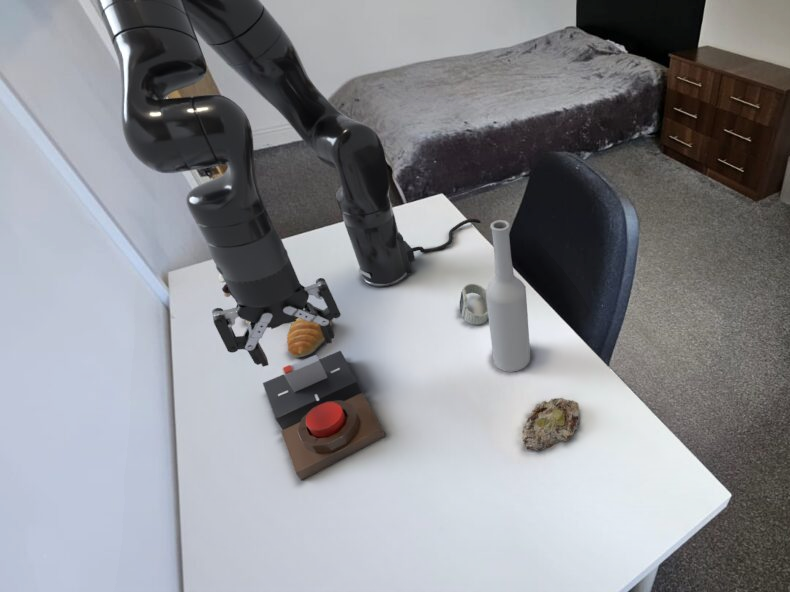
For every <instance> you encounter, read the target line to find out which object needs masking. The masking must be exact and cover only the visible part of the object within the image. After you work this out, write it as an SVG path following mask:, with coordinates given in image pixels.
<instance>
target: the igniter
mask: <svg viewBox="0 0 790 592" xmlns="http://www.w3.org/2000/svg"><path fill="white" fill-rule="evenodd" d="M327 402H334V403H337V404H339V405H340V406H341V408H342V410H343V412H344V414H345V416H346V422H345V424H344V426H343V427H342V429H341V430H340V431H338V432H337V433H336V434H334V435H332V436H329V437H324V438H319V437H316V436H314V435H313V434H312V433H311V431H310V430H309V428H308V426H307V425H306V417H307V415H308V413H309V412H310V411H311V410H312V409H313V408H312V409H311V410H310V411H309V412H308V413H307V414H306V415H305V416H304V417H303V418H302V419H301V422H299V423H297V424H295V425H293V426H290V427H288V428H286V429H284V430H282V429H281V431H280V433H281V436H282V439H283V442H284V444H285V447H286V450H287V453H288V456H289V459H290V462H291V464H292V467H293V470H294V474H295V475H296V476H297V478H298V479H299V480H300V481H303V480H305V479H307V478H308V477H311V476H312V475H314V474H316V473H318V472H320V471H322V470H324V469H326V468H328V467H330V466H331V465H333V464H335V463H337V462H339V461H340V460H343V459H344V458H347V457H348V456H350V455H352V454H354V453H357V452H358V451H360V450H362V449H364V448H366V447H367V446H369V445H371V444H373V443H376V441H379V440H381V439H382V438H384V437H386V434H385V432H384V429H383V427H382V426H381V424H380V422H379V420H378V418H377V416H376V414H375V412H374V410H373V408H372V407H371V405H370V403H369V401H368V400H367V397H366V395H365V394H364V392H362V393H360V394H358V395H356V396H354V397H352V398H350V399H348V400H346V401H342V400H338V401H327ZM327 402H325V403H327ZM314 408H315V407H314Z"/></svg>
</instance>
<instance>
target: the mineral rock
mask: <svg viewBox="0 0 790 592" xmlns="http://www.w3.org/2000/svg"><path fill="white" fill-rule="evenodd" d="M579 408H580V407H579V403H578V401H575V400H573V399H572V400H571V399H565V398H564V397H559V398H551V399H550V400H549V401H548V402H547V400H543V401H541V404H540V403H538V404H536V405H535V407H534V408H533V409H532V411H531V413H530V415H529V417H527V419H526V423H525V426H523V428H522V443H524V445H525V449H526V450H527V451H528V450H536V451H543V450H546V449H548V448H551V447H553V445H555V444H556V443H557V442H560V441H563V442H567V441H569V440H570V439H571V438H572V437H573V435H575V431H576V430H578V426H579V424H580V420H579V414H580V409H579Z"/></svg>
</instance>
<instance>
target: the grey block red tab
mask: <svg viewBox="0 0 790 592" xmlns="http://www.w3.org/2000/svg"><path fill="white" fill-rule="evenodd" d="M319 359H320V358H319V357H318V355H317V354H315V355H312V356H310V357H308V358H305V359H302V360H300V361H297V362H295V363H293V364H288V365H286V366H283V367H282V368H281V370H282V373H283V374H284V375H285V377H286V379H287V381H288V382H289V384H290V386H291V387H292V389H293V391H294V392H296V391H299V390H301V389H303V388H306V387H308V386H310V385H312V384H315V383H317V382H319V381H321V380H324V379H326V378H328V377H327V375H326V373H325V371H324V369H323V367H322V365H321V363H320V361H319Z"/></svg>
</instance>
